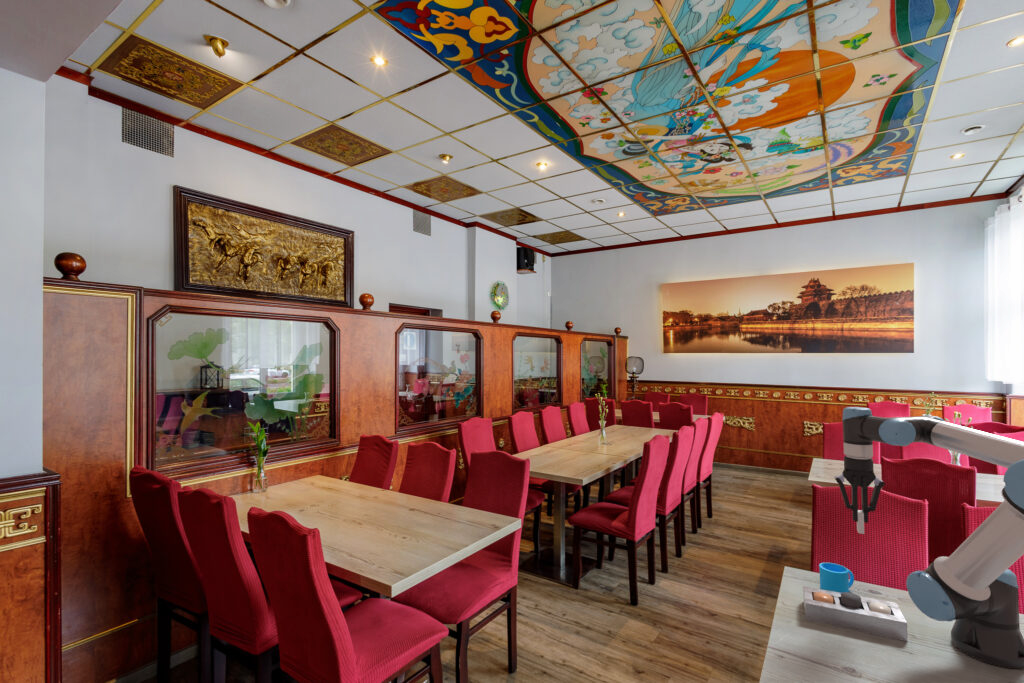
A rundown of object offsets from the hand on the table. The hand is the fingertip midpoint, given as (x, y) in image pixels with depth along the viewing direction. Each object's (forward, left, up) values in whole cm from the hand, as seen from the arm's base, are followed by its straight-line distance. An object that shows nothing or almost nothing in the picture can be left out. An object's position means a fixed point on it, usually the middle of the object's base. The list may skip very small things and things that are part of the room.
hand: (860, 532), depth 150 cm
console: (+4, +9, -24) cm, 26 cm away
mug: (+5, -10, -24) cm, 27 cm away
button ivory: (-3, +9, -22) cm, 24 cm away
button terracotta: (+11, +9, -22) cm, 26 cm away
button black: (+4, +9, -21) cm, 23 cm away
